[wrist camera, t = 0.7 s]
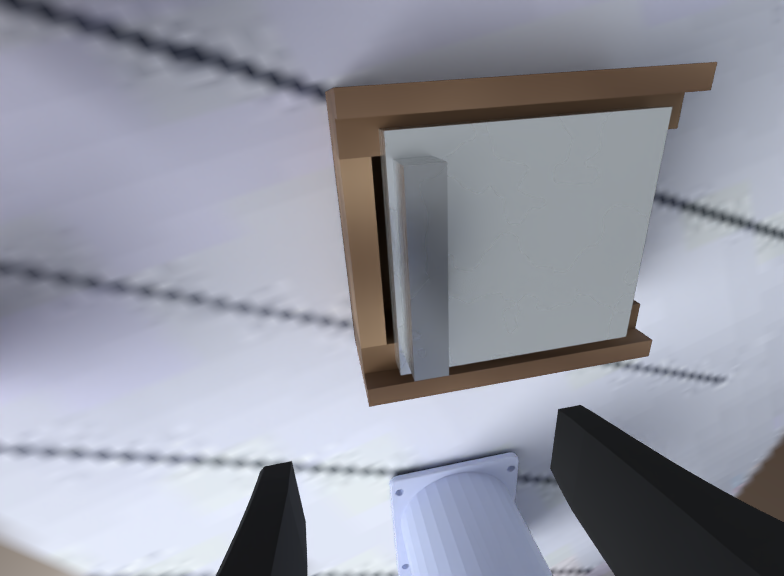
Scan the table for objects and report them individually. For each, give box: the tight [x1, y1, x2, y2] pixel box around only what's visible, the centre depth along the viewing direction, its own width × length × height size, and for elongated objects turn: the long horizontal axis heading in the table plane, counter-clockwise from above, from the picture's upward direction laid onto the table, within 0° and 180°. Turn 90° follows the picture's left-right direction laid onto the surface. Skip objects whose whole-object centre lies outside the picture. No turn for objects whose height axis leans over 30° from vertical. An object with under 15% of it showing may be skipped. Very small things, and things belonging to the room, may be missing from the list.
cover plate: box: [379, 107, 672, 381], centre depth 14 cm, size 9×9×2 cm
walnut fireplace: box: [325, 62, 717, 407], centre depth 17 cm, size 11×12×5 cm
